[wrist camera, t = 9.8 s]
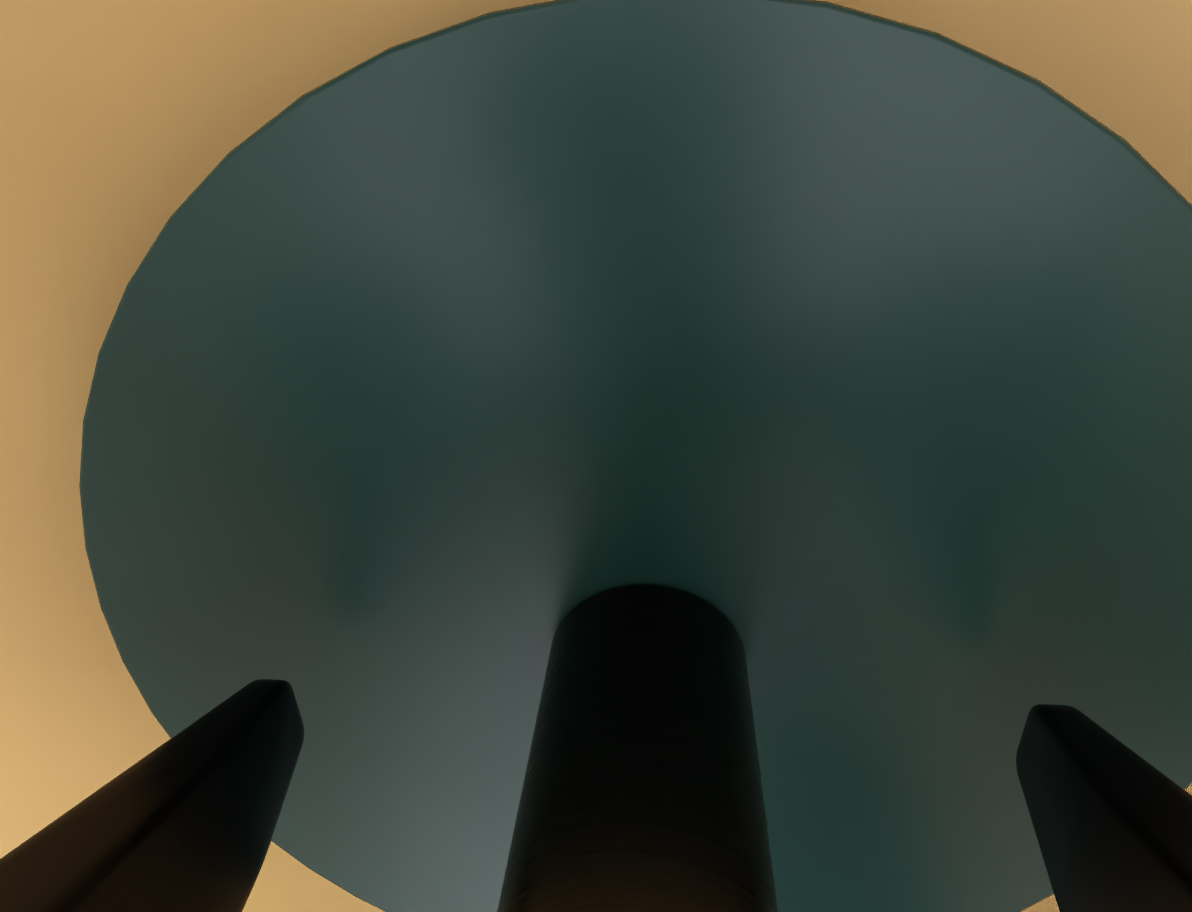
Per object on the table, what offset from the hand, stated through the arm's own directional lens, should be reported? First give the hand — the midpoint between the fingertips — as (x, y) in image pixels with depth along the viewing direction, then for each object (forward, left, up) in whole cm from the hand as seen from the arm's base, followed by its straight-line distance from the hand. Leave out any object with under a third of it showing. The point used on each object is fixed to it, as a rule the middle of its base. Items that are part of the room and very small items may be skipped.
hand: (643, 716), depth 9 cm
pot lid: (0, 0, -2) cm, 2 cm away
